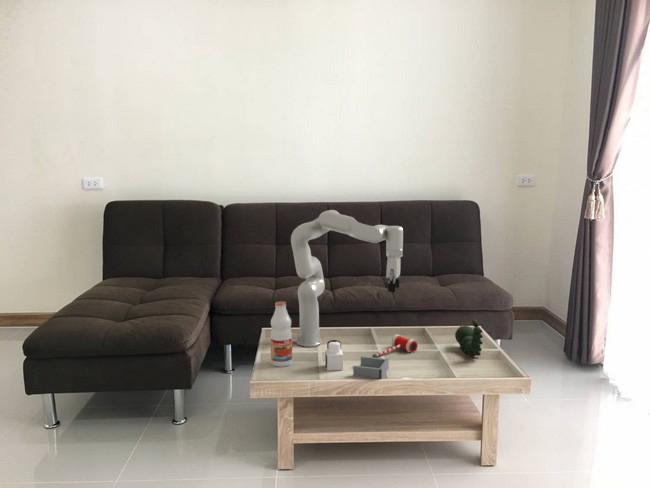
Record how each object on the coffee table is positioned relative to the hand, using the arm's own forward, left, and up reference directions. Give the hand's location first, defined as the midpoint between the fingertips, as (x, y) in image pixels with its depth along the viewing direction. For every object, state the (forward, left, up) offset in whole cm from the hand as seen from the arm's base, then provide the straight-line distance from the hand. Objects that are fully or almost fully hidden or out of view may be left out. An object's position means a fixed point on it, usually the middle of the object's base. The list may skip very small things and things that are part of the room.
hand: (393, 289), depth 271 cm
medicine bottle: (-20, -27, -31) cm, 46 cm away
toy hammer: (+1, +2, -31) cm, 31 cm away
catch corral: (-4, -27, -30) cm, 41 cm away
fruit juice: (-44, -29, -31) cm, 61 cm away
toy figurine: (+34, +12, -31) cm, 47 cm away
